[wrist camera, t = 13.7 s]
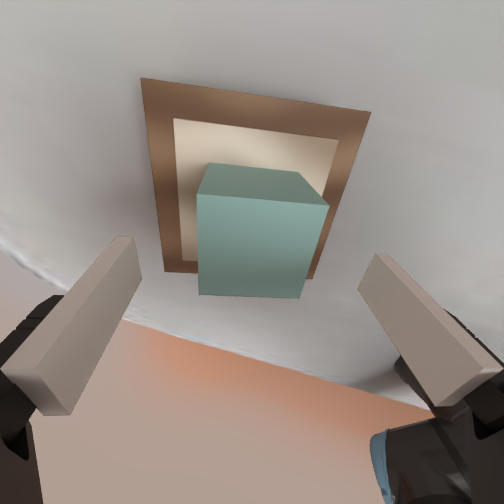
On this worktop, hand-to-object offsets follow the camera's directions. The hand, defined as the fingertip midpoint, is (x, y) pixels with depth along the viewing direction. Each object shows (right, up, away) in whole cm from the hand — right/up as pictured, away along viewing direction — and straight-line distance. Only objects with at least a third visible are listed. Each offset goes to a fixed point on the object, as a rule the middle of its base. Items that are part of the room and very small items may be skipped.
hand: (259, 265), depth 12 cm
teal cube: (-1, +4, +7) cm, 8 cm away
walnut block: (-1, +9, +14) cm, 17 cm away
